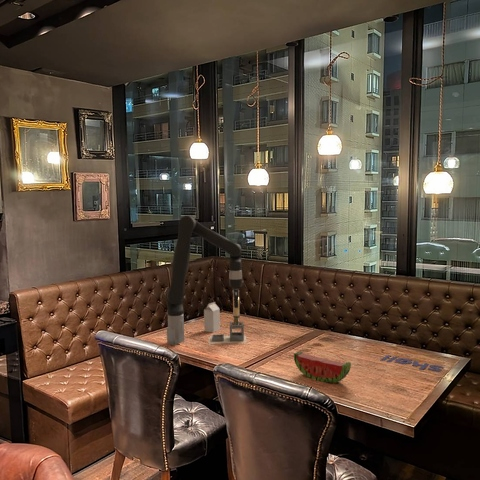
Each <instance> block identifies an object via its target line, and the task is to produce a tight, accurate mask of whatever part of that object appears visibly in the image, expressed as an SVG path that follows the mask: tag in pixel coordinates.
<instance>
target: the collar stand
mask: <svg viewBox="0 0 480 480" xmlns="http://www.w3.org/2000/svg"><path fill="white" fill-rule="evenodd" d="M244 328H245V327H244V322H243V321H240V324H238V325H235V324H234V322H232V321H231V322H229V336H230V341H244V334H245V333H244V331H245V330H244ZM234 329H235V330H237V329H238V330H239V329H240V330H241V331H234V332H233V330H234ZM211 336H212V342H213V341H224V336H225V335H224V334H212V335H211Z"/></svg>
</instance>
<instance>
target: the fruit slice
mask: <svg viewBox="0 0 480 480" xmlns="http://www.w3.org/2000/svg"><path fill="white" fill-rule="evenodd" d="M293 360H294V364H295V366H296V368H297V369H298V370H299V372H301V374H303V375H305V376H306V377H308V378H310V379H311V378H312V380H314V379H316V380H315V381H318V380H319V381H318V382H322V381H323V383H329V384H330V383H338V382H341V381H342V380H344V379H345V378H346V377H347V375H348V374H349V373H350V370H351V368H352V364H351V362H347V361H346V362H343V361H342V362H341V361H337V360H331V359H328V358H325V357H319V356H315V355H313V354H308V353H304V352H303V351H301V350H299V351H296V352H295V353H293Z"/></svg>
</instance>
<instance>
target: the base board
mask: <svg viewBox="0 0 480 480" xmlns="http://www.w3.org/2000/svg"><path fill="white" fill-rule="evenodd" d="M212 336H213V335H210V336H209V337H208V344H210V345H212V344H213V345H214V344H217V345H218V344H247V336H246V335H244V341H230V335H224V341H213V342H212Z"/></svg>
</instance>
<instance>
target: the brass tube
mask: <svg viewBox="0 0 480 480" xmlns="http://www.w3.org/2000/svg"><path fill="white" fill-rule="evenodd" d="M235 299H237V298H235ZM238 300H239V301H238V308H235V307H234V297H233V296H232V308H233V314H232V315H233V316H232V317H233V319H232V320H233V322H234V324H235V325H234V326H238V324H240V322H241V321H240V317H241V315H240V296H239V297H238Z"/></svg>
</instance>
